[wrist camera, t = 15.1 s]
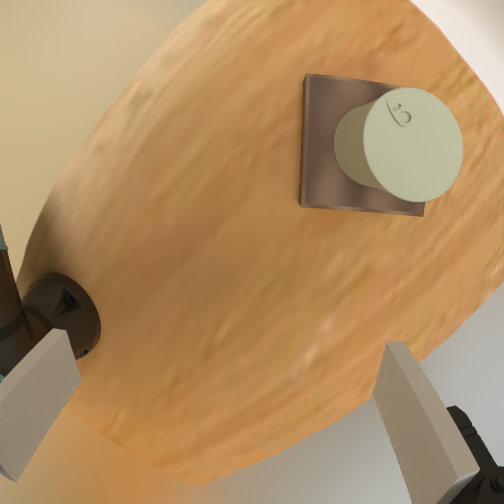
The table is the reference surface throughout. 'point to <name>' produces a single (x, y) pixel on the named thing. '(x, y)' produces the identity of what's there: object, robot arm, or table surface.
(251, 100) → the table surface
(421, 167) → the can
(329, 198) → the brown flat square block
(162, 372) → the table surface
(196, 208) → the table surface
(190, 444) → the table surface
